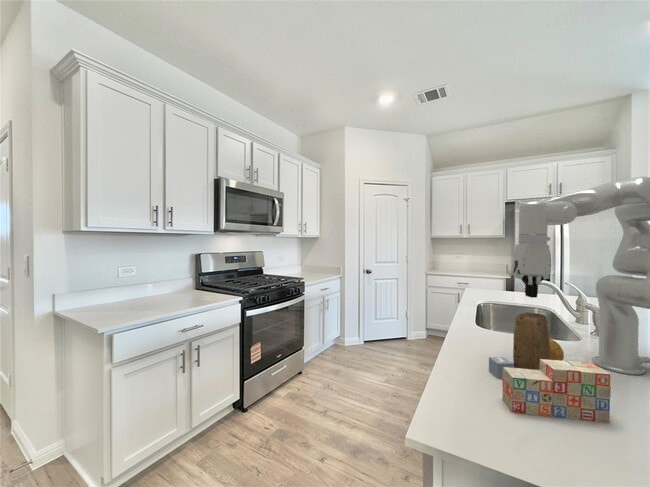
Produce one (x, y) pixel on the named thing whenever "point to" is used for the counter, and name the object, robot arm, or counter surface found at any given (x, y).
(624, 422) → the counter surface
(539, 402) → the stack of blocks
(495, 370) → the alphabet block
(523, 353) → the brown rock
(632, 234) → the robot arm
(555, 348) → the potato
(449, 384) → the counter surface
